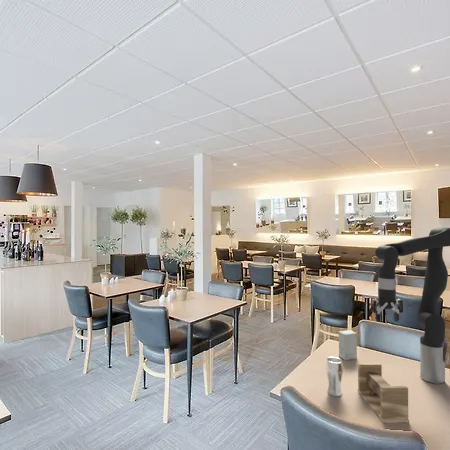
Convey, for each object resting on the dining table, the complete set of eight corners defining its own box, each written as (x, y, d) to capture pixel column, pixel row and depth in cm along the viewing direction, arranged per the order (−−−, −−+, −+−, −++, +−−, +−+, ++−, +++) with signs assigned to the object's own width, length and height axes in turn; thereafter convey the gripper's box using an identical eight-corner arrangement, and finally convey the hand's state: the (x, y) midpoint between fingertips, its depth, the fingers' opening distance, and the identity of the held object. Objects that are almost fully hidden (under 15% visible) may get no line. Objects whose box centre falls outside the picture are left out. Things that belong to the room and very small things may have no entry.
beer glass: (329, 387, 142) (329, 355, 142) (345, 392, 138) (344, 359, 138) (324, 393, 137) (324, 360, 137) (339, 399, 132) (339, 364, 132)
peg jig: (357, 391, 138) (357, 362, 138) (379, 391, 138) (379, 362, 138) (383, 422, 116) (383, 389, 116) (409, 422, 116) (408, 388, 116)
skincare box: (350, 354, 177) (350, 329, 177) (357, 359, 171) (357, 332, 171) (338, 356, 175) (338, 330, 175) (344, 360, 169) (344, 334, 169)
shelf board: (367, 383, 135) (367, 372, 135) (376, 383, 135) (376, 372, 135) (386, 405, 119) (386, 392, 119) (397, 404, 119) (397, 392, 119)
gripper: (397, 285, 148) (397, 318, 148) (368, 285, 148) (368, 318, 148) (406, 288, 141) (406, 323, 141) (376, 289, 141) (376, 323, 141)
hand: (387, 321), depth 144 cm, fingers open, 8 cm apart
